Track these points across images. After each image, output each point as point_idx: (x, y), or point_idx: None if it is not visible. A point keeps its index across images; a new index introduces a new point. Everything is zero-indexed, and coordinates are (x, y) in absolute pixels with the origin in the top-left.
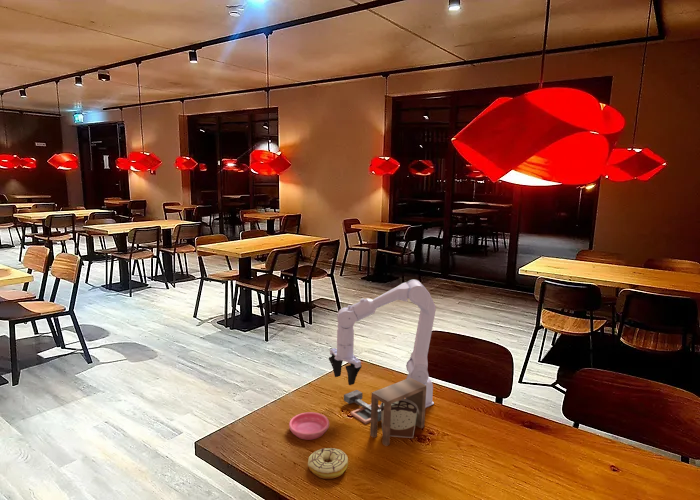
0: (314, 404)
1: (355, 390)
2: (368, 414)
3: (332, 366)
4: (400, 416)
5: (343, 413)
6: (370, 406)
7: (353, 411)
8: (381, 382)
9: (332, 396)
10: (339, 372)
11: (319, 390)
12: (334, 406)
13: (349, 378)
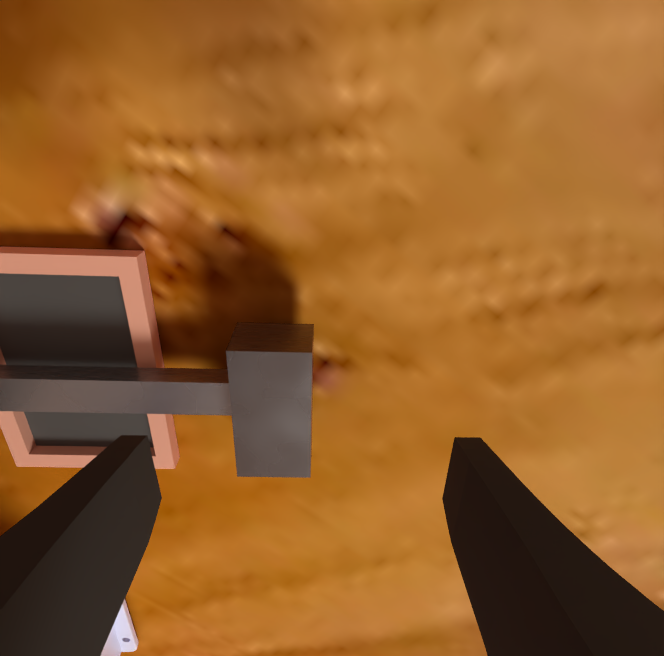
0: (492, 89)
1: (308, 462)
2: (64, 348)
3: (612, 582)
4: None
5: (186, 210)
6: (63, 405)
7: (130, 279)
8: (371, 614)
9: (470, 316)
10: (462, 536)
11: (628, 296)
12: (331, 225)
13: (22, 524)
